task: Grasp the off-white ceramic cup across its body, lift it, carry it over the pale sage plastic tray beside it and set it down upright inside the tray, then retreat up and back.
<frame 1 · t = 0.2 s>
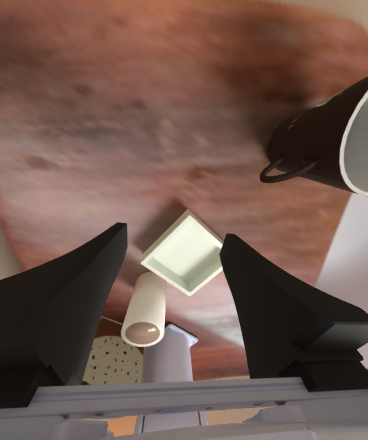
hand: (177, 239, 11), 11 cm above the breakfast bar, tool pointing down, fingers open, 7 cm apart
cup: (151, 283, 26), on the breakfast bar
coffee mug: (280, 145, 19), on the breakfast bar
food container: (117, 332, 30), on the breakfast bar
tray: (188, 250, 24), on the breakfast bar
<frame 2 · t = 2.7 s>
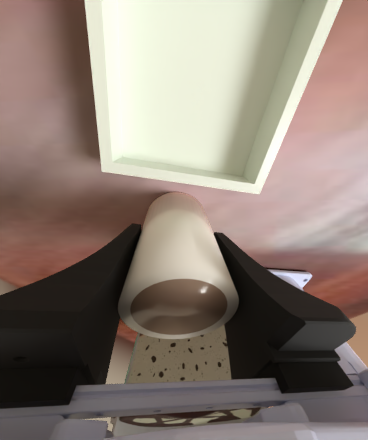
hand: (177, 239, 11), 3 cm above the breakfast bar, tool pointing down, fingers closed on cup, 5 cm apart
cup: (176, 219, 14), on the breakfast bar, touching gripper
food container: (183, 308, 21), on the breakfast bar
tray: (196, 92, 9), on the breakfast bar
when the fingers open (4 cm above the breakfast bar, at t = 7.7 s): cup stays where it is, resting on tray.
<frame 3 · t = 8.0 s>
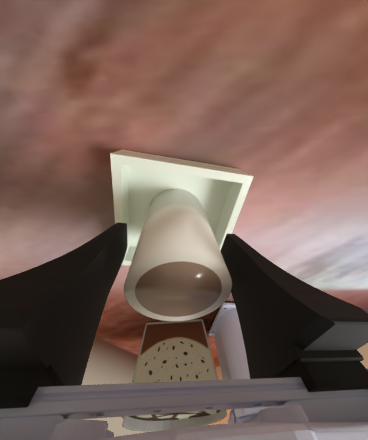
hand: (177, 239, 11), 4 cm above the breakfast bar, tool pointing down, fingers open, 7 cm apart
cup: (176, 215, 14), point 1 cm above the breakfast bar, touching tray
food container: (175, 329, 27), on the breakfast bar
tray: (175, 212, 15), on the breakfast bar
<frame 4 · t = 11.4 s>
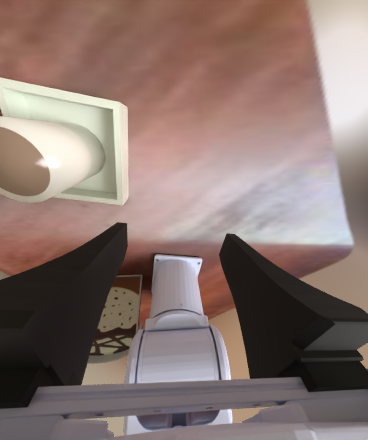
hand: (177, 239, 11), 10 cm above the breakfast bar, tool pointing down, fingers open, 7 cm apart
cup: (80, 151, 16), point 1 cm above the breakfast bar, touching tray
food container: (119, 286, 28), on the breakfast bar
tray: (83, 151, 17), on the breakfast bar
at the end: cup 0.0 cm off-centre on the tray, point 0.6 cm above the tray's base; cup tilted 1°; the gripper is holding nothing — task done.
